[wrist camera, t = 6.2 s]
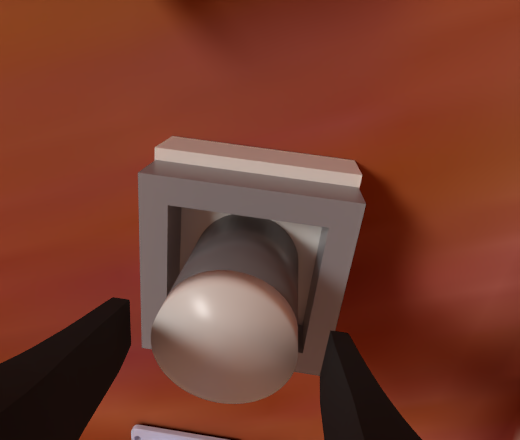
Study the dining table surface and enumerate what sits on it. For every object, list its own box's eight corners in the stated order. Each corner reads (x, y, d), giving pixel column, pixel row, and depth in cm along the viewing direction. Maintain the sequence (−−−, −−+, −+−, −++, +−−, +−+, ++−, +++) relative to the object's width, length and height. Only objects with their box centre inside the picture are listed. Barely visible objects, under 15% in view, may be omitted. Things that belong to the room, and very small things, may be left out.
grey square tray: (318, 324, 22) (322, 384, 18) (169, 301, 23) (141, 356, 18) (354, 160, 18) (370, 190, 14) (172, 136, 18) (136, 158, 14)
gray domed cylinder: (287, 312, 19) (283, 415, 14) (191, 293, 19) (148, 388, 14) (308, 223, 17) (312, 303, 11) (200, 204, 17) (153, 273, 12)
